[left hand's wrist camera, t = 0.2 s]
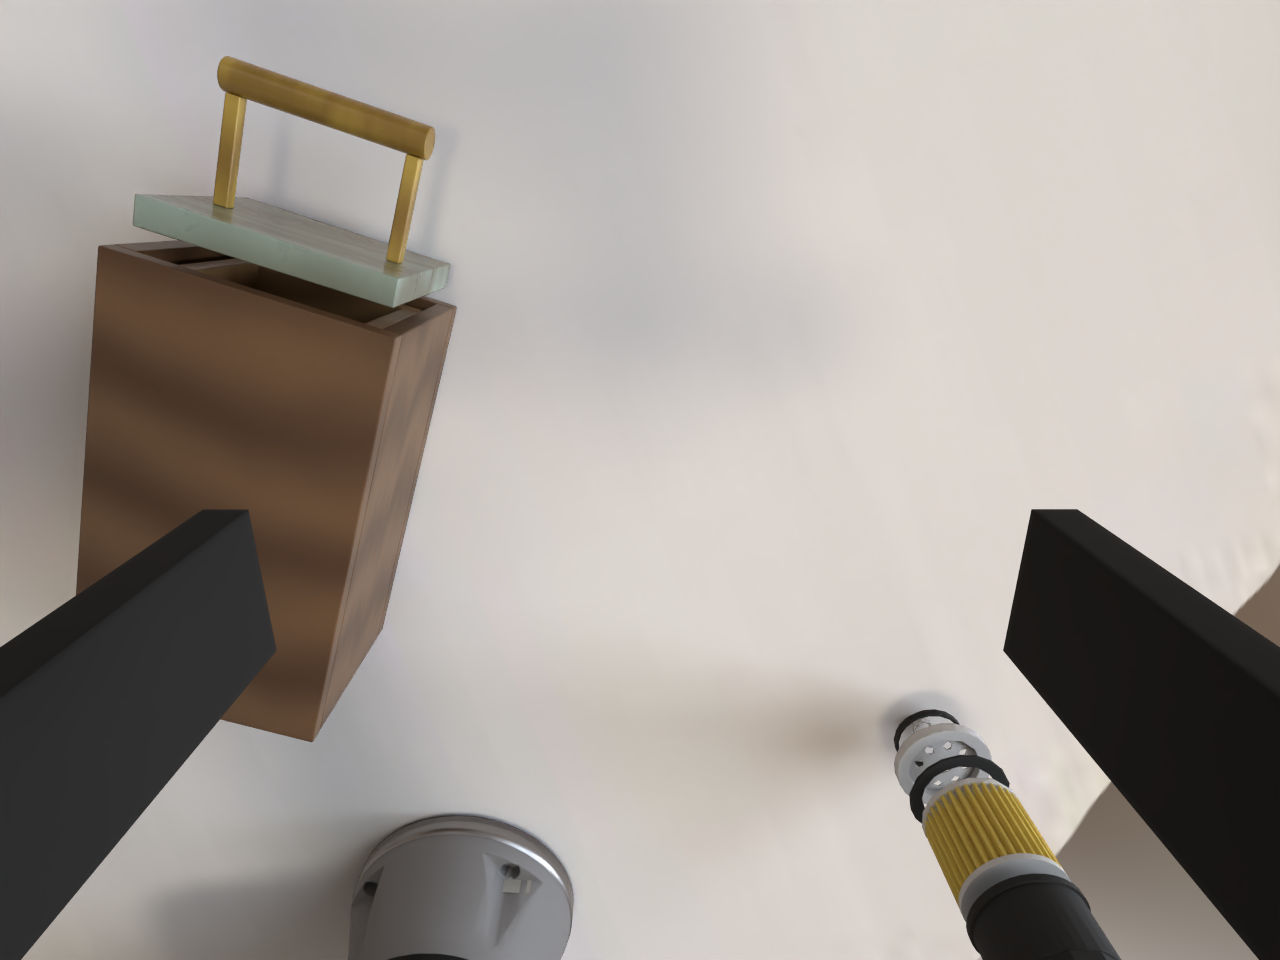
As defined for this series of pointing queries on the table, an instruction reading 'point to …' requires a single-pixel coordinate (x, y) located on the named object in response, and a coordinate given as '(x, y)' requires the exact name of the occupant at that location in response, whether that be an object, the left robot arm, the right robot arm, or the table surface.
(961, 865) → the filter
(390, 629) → the table surface
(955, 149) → the table surface
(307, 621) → the cabinet
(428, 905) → the right robot arm
